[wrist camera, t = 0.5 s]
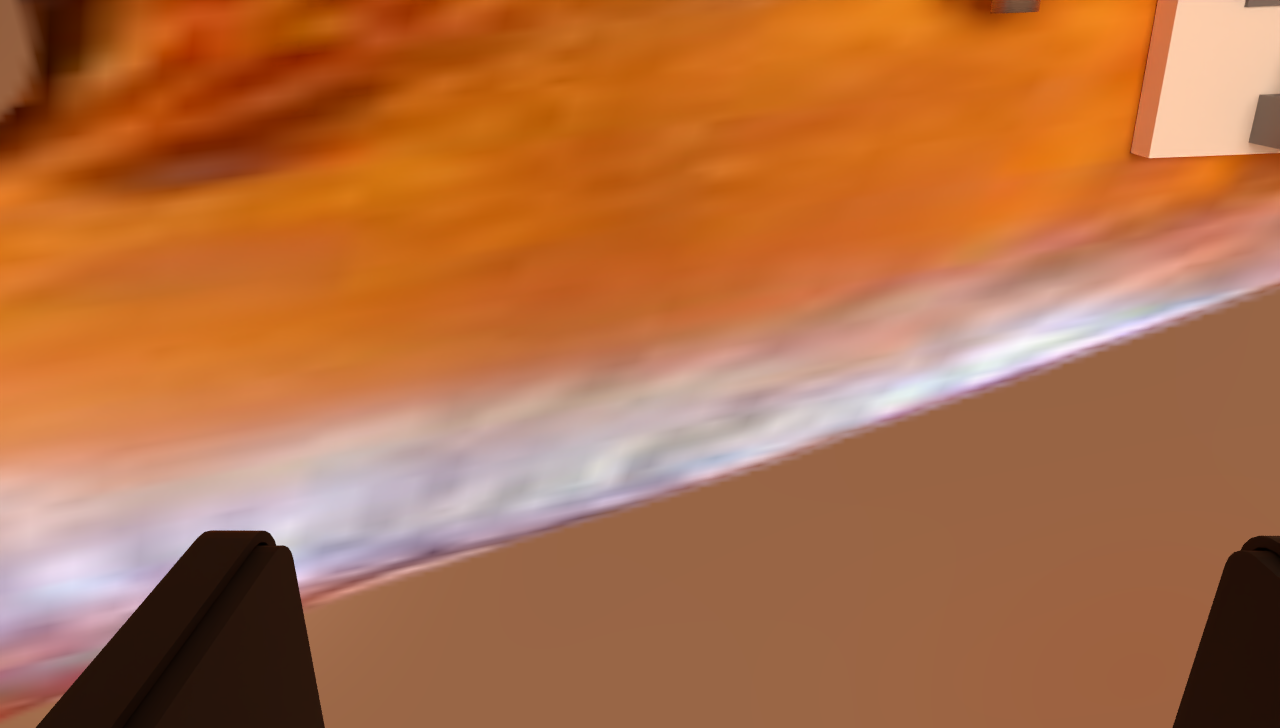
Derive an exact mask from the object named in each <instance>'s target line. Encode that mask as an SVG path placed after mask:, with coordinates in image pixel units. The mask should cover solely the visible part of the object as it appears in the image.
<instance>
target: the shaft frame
mask: <svg viewBox="0 0 1280 728" xmlns="http://www.w3.org/2000/svg"><path fill="white" fill-rule="evenodd" d="M1131 153H1133V154H1136V155H1140V156H1143V157H1147V158H1165V157H1190V156H1215V155H1240V154H1265V153H1280V0H1158V3H1157V8H1156V14H1155V19H1154V25H1153V31H1152V36H1151V42H1150V47H1149V53H1148V58H1147V64H1146V70H1145V75H1144V81H1143V86H1142V92H1141V98H1140V103H1139V109H1138V114H1137V120H1136V125H1135V131H1134V137H1133V142H1132V148H1131Z"/></svg>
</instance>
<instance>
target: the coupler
mask: <svg viewBox="0 0 1280 728" xmlns="http://www.w3.org/2000/svg"><path fill="white" fill-rule="evenodd" d="M1039 6H1040V0H992V2H991V11H990V13H1019V12H1038V11H1039Z"/></svg>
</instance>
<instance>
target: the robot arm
mask: <svg viewBox="0 0 1280 728" xmlns="http://www.w3.org/2000/svg"><path fill="white" fill-rule="evenodd" d="M36 728H325V727H324V721H323V716H322V710H321V705H320V700H319V695H318V689H317V684H316V678H315V673H314V668H313V662H312V657H311V652H310V646H309V641H308V636H307V630H306V625H305V620H304V614H303V609H302V603H301V598H300V592H299V587H298V582H297V576H296V571H295V566H294V560H293V557H292V553H291V551H290V550H289V548H288V547H286V546H276V544H275V540H274V539H273V537H272V536H271V534H270V533H268V532H266V531H207V532H204V533H203V534H202V535H200V536H199V537H198V538H197V539H196V540H195V542H194V543H193V544H192V545H191V546H190V547H189V549H188V550H187V551H186V552H185V553H184V554H183V556H182V557H181V558H180V559H179V560H178V561H177V563H176V564H175V565H174V566H173V567H172V568H171V570H170V571H169V572H168V573H167V574H166V576H165V577H164V578H163V579H162V580H161V581H160V583H159V584H158V585H157V586H156V587H155V588H154V590H153V591H152V592H151V593H150V594H149V595H148V597H147V598H146V599H145V600H144V601H143V602H142V604H141V605H140V606H139V607H138V608H137V610H136V611H135V612H134V613H133V614H132V615H131V617H130V618H129V619H128V620H127V621H126V622H125V624H124V625H123V626H122V627H121V628H120V629H119V631H118V632H117V633H116V634H115V635H114V636H113V638H112V639H111V640H110V641H109V642H108V644H107V645H106V646H105V647H104V648H103V649H102V651H101V652H100V653H99V654H98V655H97V656H96V658H95V659H94V660H93V661H92V662H91V663H90V665H89V666H88V667H87V668H86V669H85V670H84V672H83V673H82V674H81V675H80V676H79V678H78V679H77V680H76V681H75V682H74V683H73V685H72V686H71V687H70V688H69V689H68V690H67V692H66V693H65V694H64V695H63V696H62V697H61V699H60V700H59V701H58V702H57V703H56V704H55V706H54V707H53V708H52V709H51V710H50V712H49V713H48V714H47V715H46V716H45V718H44V719H43V720H42V721H41V722H40V723H39V724H38V726H37V727H36ZM1173 728H1280V536H1257V537H1254V538H1251V539H1249V540H1248V541H1247V542H1246V543H1245V544H1244V545H1243V547H1242V549H1241V551H1237V552H1234V553H1233V554H1232V555H1231V556H1230V557H1229V558H1228V560H1227V562H1226V564H1225V567H1224V570H1223V573H1222V576H1221V580H1220V583H1219V586H1218V589H1217V592H1216V595H1215V598H1214V601H1213V604H1212V607H1211V610H1210V613H1209V616H1208V620H1207V623H1206V626H1205V629H1204V632H1203V636H1202V638H1201V642H1200V644H1199V648H1198V651H1197V654H1196V657H1195V660H1194V663H1193V666H1192V669H1191V672H1190V675H1189V678H1188V682H1187V685H1186V688H1185V691H1184V694H1183V697H1182V700H1181V703H1180V706H1179V709H1178V713H1177V716H1176V719H1175V722H1174V725H1173Z"/></svg>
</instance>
